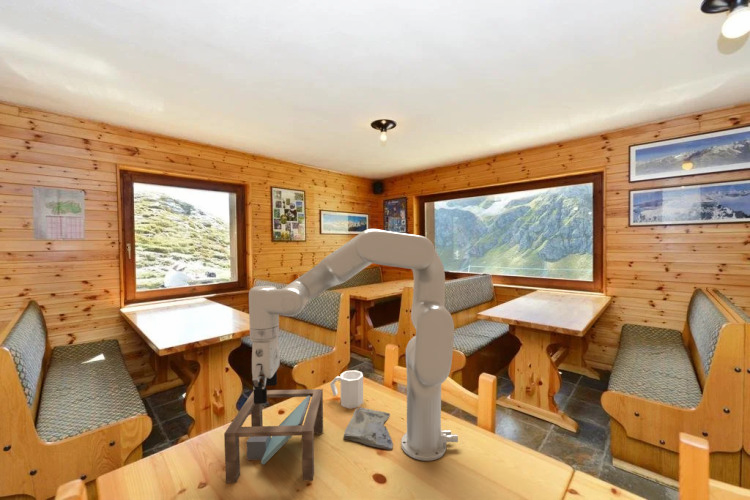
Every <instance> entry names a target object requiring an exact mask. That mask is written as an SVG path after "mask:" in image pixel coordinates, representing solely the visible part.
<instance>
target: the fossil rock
mask: <svg viewBox="0 0 750 500" xmlns="http://www.w3.org/2000/svg"><path fill="white" fill-rule="evenodd" d="M390 415H391V414H390V413H389V412H386V411H380V410H374V409H370V408H365V407H362V406H359V407H358V408H354V412H353V415H352V417H351V419H350V421H349V422H348V424H347V425H346V428H345V430H344V433H343V437H342V438H343V439H344V440H345V439H346V440H349V441H351V442H352V441H353V442H355V443H360V444H363V445H366V446H369V447H373V448H379V449H385V450H388V451H390V450H392V449H393V446H394V443H393V440H392V437H391V436H390V433H389V431H388V428H387V427H386V426H385V423H386V422H387V421H388V419H389V417H390Z"/></svg>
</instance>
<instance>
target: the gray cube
mask: <svg viewBox="0 0 750 500" xmlns="http://www.w3.org/2000/svg"><path fill="white" fill-rule="evenodd" d="M271 438H272V436H259V437H248V439H247V440H246V460H247V461H254V460H255V461H257V460H261V461H262V458H263V456H264V454H265V452H266V449H267V447H268V445H269V442H270V440H271Z"/></svg>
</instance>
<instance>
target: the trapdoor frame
mask: <svg viewBox="0 0 750 500" xmlns="http://www.w3.org/2000/svg"><path fill="white" fill-rule="evenodd" d="M323 393H324V389H323V388H321V389H320V388H317V389H316V388H315V389H314V388H313V389H307V388H306V389H269V390H268V389H267V399H268V398H269V399H270V398H306V397H307V396H309V395H310V396H311V398H310V401H309V405H308V408H307V411H306V414H305V418H304V421H303V424H302V425H296V426H279V425H267V426H265V425H263V420H264V419H263V404H255V403H254V390H252V392H251V394H250V395H249V397H248V398H247V400H246V401H245V402H244V404H243V405H242V406H241V408H240V410H239V411H238V413H237V414H236V415H235V417H234V419H233V420H232V421H231V423H230V424H229V426H228V427H227V428H226V430H225V432H224V433H223V434H224V439H223V440H224V462H225V467H224V468H225V483H226V484H232V483H234V484H235V483H237V482H238V480H239V478H240V476H241V462H240V461H241V460H240V459H241V457H240V438H247V437H248V438H249V437H259V436H271V437H272V436H293V437H294V436H301V463H302V464H301V467H302V468H301V469H302V470H301V471H302V473H301V475H302V481H303V482H304V481H314V476H315V441H314V440H315V437H314V435H315V434H316V435H317V434H323V431H324V397H323V396H324V394H323ZM249 415H250V417H251V418H250V419H251V420H250V421H251V422H250V423H251V426H243V425H244V423H245V422H246V420H247V418H248V417H249Z"/></svg>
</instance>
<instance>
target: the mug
mask: <svg viewBox="0 0 750 500" xmlns="http://www.w3.org/2000/svg"><path fill="white" fill-rule="evenodd" d="M337 381H340V406H341V407H343V408H346V409H349V410H350V409H358V408H360V407H361V406H362V405H363V404H364V374H363V372H362V371H359V370H356V369H354V370H352V369H351V370H345V371H343V372H342V373H340V376H339V375H337V376H335V378H334V379H333V380H332V381H331V382H330V384H329V385H330V388H331V391H332V395H333V396H334V397H335V396H337V395H338V393H339V391H338V388H337V386H336V382H337ZM361 404H362V405H361Z"/></svg>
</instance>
